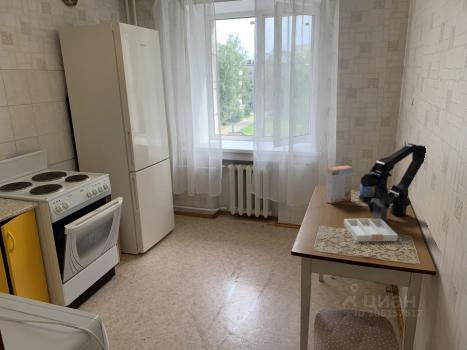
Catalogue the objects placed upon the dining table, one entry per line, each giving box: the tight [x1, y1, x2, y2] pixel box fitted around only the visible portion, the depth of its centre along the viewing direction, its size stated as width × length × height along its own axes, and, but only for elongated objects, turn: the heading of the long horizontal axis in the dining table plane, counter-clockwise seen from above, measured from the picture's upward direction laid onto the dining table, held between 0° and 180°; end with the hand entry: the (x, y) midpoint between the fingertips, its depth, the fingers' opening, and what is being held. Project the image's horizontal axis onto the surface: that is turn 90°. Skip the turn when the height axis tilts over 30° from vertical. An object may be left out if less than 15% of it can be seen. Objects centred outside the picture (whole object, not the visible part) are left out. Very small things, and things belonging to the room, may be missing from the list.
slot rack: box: [343, 217, 399, 243], centre depth 162 cm, size 18×19×3 cm
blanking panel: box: [369, 200, 389, 224], centre depth 178 cm, size 3×14×8 cm, turn 0°
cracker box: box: [325, 164, 354, 204], centre depth 201 cm, size 14×6×21 cm, turn 108°
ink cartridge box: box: [358, 179, 374, 202], centre depth 202 cm, size 10×6×14 cm, turn 88°
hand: (377, 213), depth 178 cm, fingers open, 7 cm apart
